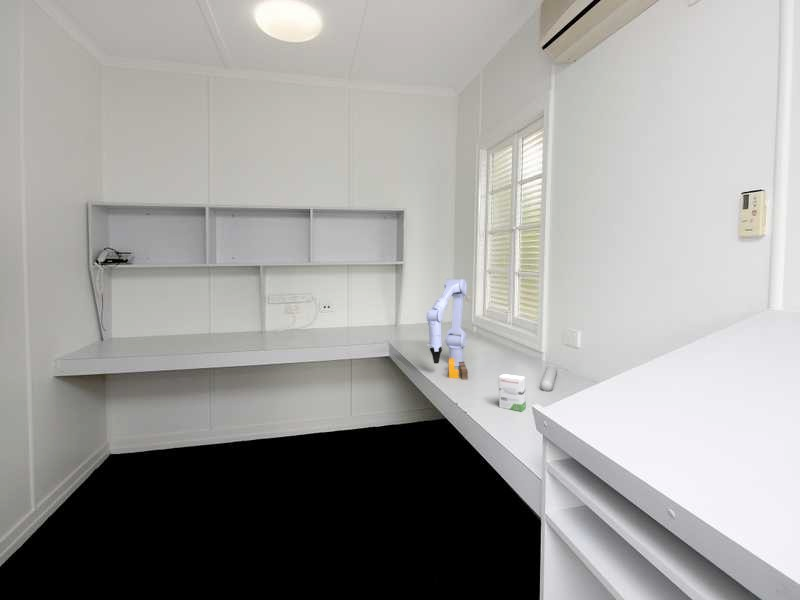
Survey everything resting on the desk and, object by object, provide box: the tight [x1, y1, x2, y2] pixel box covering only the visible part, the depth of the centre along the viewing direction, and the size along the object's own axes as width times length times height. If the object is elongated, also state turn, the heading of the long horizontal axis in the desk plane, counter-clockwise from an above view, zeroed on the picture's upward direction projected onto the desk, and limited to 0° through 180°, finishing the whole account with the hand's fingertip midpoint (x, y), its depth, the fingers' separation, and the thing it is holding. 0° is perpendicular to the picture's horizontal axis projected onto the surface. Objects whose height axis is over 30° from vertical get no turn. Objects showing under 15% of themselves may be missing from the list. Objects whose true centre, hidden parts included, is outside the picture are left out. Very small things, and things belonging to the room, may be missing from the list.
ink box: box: [498, 373, 527, 412], centre depth 147 cm, size 9×5×12 cm, turn 54°
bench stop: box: [458, 361, 469, 381], centre depth 191 cm, size 16×2×4 cm, turn 177°
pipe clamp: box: [448, 358, 460, 379], centre depth 192 cm, size 12×4×6 cm, turn 173°
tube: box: [540, 364, 558, 392], centre depth 174 cm, size 5×5×25 cm
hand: (436, 363), depth 192 cm, fingers closed
